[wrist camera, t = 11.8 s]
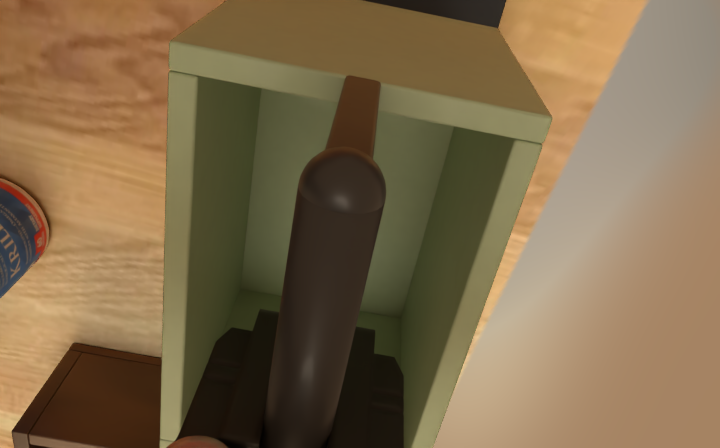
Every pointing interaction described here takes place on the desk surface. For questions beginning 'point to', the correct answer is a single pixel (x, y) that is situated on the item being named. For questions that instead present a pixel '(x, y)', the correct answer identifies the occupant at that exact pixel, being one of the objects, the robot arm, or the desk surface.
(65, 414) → the open wooden box
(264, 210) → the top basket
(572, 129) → the desk surface
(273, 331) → the robot arm
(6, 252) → the pill bottle
